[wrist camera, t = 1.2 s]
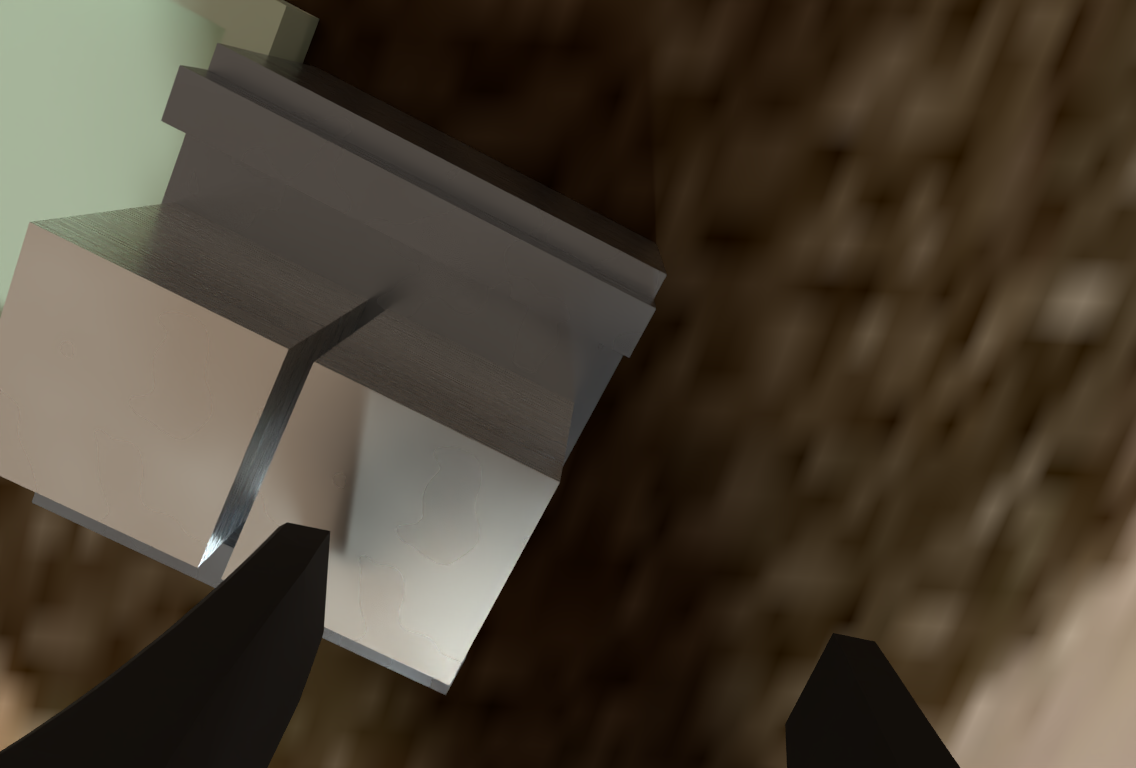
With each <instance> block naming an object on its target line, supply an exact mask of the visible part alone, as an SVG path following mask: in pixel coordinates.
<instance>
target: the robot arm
mask: <svg viewBox="0 0 1136 768" xmlns="http://www.w3.org/2000/svg"><path fill="white" fill-rule="evenodd" d="M329 544H330V531H328V530H323V529H318V528H313V527H308V526H303V525H298V524H293V523H289V522H287V523H285V524H283V525H281V526H279V527H278V528H277V529H276V530H275V531H274V532H273V533H272V534H271V535H270V536H269V537H268V538H267V539H266V540H265V541H264V542H263V543H262V544H261V545H260V546H259V547H258V548H257V549H256V550H255V551H254V552H253V553H252V554H251V555H250V556H249V557H248V558H247V559H246V560H245V561H244V562H243V563H242V564H241V565H240V566H239V567H238V568H236V569H235V570H234V571H233V572H232V573H231V574H230V575H229V576H228V577H227V578H226V579H225V580H224V581H222V582H221V583H220V584H219V585H218V586H217V587H216V588H215V589H214V590H213V591H212V592H210V593H209V594H208V595H207V596H206V597H205V598H204V599H202V600H201V601H200V602H199V603H198V604H197V605H196V606H194V607H193V608H192V609H191V610H190V611H189V612H187V613H186V614H185V615H184V616H183V617H182V618H181V619H179V620H178V621H177V622H176V623H175V624H174V625H173V626H171V627H170V628H169V629H168V630H167V631H165V632H164V633H163V634H162V635H161V636H159V637H158V638H157V639H156V640H154V641H153V642H152V643H151V644H149V645H148V646H147V647H146V648H144V649H143V650H142V651H140V652H139V653H138V654H137V655H135V656H134V657H133V658H132V659H130V660H129V661H128V662H127V663H125V664H124V665H123V666H122V667H120V668H119V669H118V670H116V671H115V672H114V673H113V674H111V675H110V676H109V677H108V678H106V679H105V680H104V681H102V682H101V683H100V684H98V685H97V686H95V687H94V688H93V689H91V690H90V691H89V692H87V693H86V694H85V695H83V696H82V697H80V698H79V699H78V700H76V701H75V702H73V703H72V704H71V705H69V706H68V707H66V708H65V709H64V710H62V711H61V712H59V713H58V714H56V715H55V716H53V717H52V718H50V719H49V720H48V721H46V722H45V723H43V724H42V725H40V726H39V727H37V728H36V729H34V730H33V731H31V732H30V733H28V734H27V735H25V736H24V737H22V738H21V739H19V740H18V741H16V742H15V743H13V744H11V745H10V746H8V747H7V748H5V749H4V750H2V751H0V768H267V767H268V765H269V763H270V761H271V759H272V757H273V755H274V753H275V751H276V749H277V746H278V744H279V742H280V740H281V738H282V736H283V734H284V732H285V730H286V728H287V726H288V724H289V722H290V719H291V717H292V715H293V713H294V711H295V709H296V707H297V705H298V703H299V700H300V698H301V695H302V692H303V689H304V687H305V684H306V681H307V678H308V676H309V673H310V670H311V667H312V664H313V661H314V659H315V656H316V653H317V650H318V647H319V644H320V641H321V639H322V636H323V633H324V620H325V605H326V590H327V575H328V560H329ZM785 726H786V751H787V768H960V767H959V765H958V764H957V762H956V761H955V760H954V758H953V757H952V755H951V754H950V752H949V751H948V749H947V748H946V746H945V745H944V744H943V742H942V741H941V739H940V738H939V736H938V735H937V733H936V732H935V730H934V729H933V727H932V726H931V724H930V723H929V721H928V720H927V718H926V717H925V715H924V714H923V713H922V711H921V710H920V708H919V707H918V705H917V704H916V702H915V701H914V699H913V698H912V696H911V695H910V693H909V692H908V690H907V689H906V687H905V685H904V684H903V682H902V681H901V679H900V678H899V676H898V675H897V673H896V672H895V670H894V669H893V667H892V666H891V664H890V663H889V661H888V660H887V659H886V657H885V656H884V654H883V653H882V651H881V650H880V648H879V647H878V645H877V644H876V643H875V642H874V641H869V640H864V639H859V638H854V637H850V636H845V635H840V634H835V633H833V634H832V636H831V638H830V640H829V642H828V644H827V646H826V648H825V650H824V652H823V653H822V655H821V657H820V659H819V661H818V663H817V665H816V667H815V669H814V671H813V672H812V674H811V676H810V678H809V680H808V682H807V684H806V686H805V688H804V690H803V691H802V693H801V695H800V697H799V699H798V701H797V703H796V705H795V707H794V709H793V711H792V712H791V714H790V716H789V718H788V720H787V722H786V724H785Z"/></svg>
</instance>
